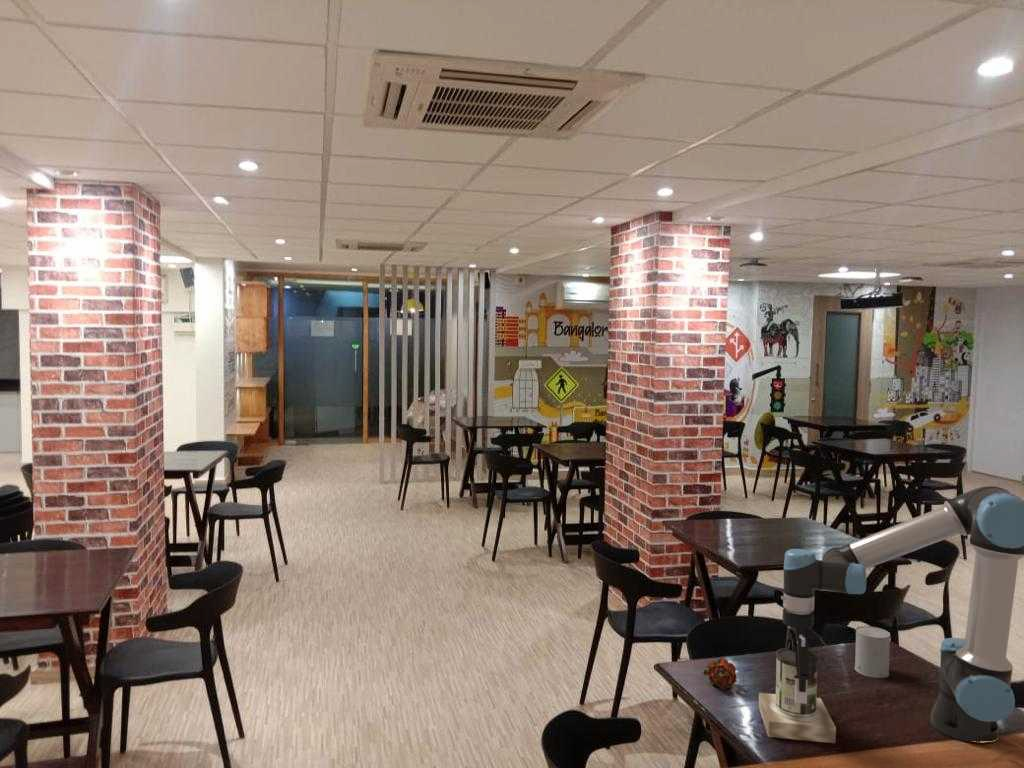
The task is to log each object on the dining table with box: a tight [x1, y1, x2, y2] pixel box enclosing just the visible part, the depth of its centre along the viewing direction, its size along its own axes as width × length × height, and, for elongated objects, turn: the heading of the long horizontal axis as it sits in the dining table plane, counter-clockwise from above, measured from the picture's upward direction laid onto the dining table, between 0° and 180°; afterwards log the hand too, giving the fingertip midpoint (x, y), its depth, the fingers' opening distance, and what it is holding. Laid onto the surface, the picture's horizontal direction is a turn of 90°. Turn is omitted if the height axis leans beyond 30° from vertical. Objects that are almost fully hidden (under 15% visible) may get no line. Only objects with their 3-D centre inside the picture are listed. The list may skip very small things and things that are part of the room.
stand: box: [758, 692, 837, 744], centre depth 193 cm, size 16×16×4 cm
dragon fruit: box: [702, 657, 738, 690], centre depth 215 cm, size 8×8×12 cm
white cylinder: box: [854, 625, 891, 679], centre depth 226 cm, size 10×10×12 cm
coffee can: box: [775, 647, 819, 717], centre depth 193 cm, size 10×10×14 cm
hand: (796, 692), depth 192 cm, fingers open, 11 cm apart
